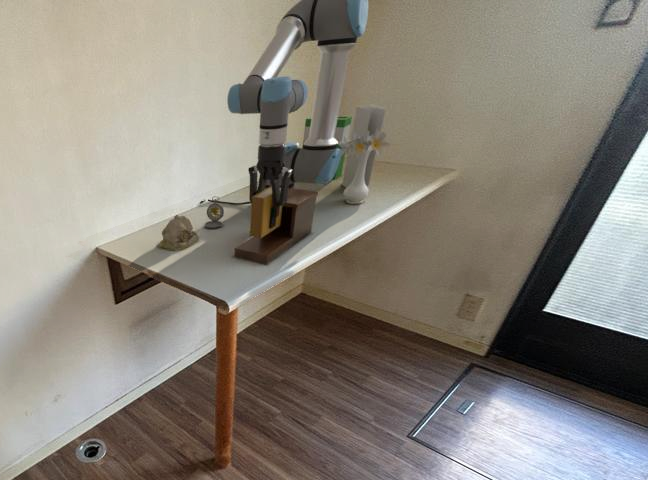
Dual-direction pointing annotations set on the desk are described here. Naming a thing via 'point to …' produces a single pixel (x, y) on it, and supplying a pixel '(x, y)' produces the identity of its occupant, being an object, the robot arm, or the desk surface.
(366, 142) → the flower vase
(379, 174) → the desk surface
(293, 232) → the step shelf
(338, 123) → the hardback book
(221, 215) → the pocket watch
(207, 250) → the desk surface
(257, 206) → the ochre book
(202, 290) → the desk surface
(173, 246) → the ceramic model
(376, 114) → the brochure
